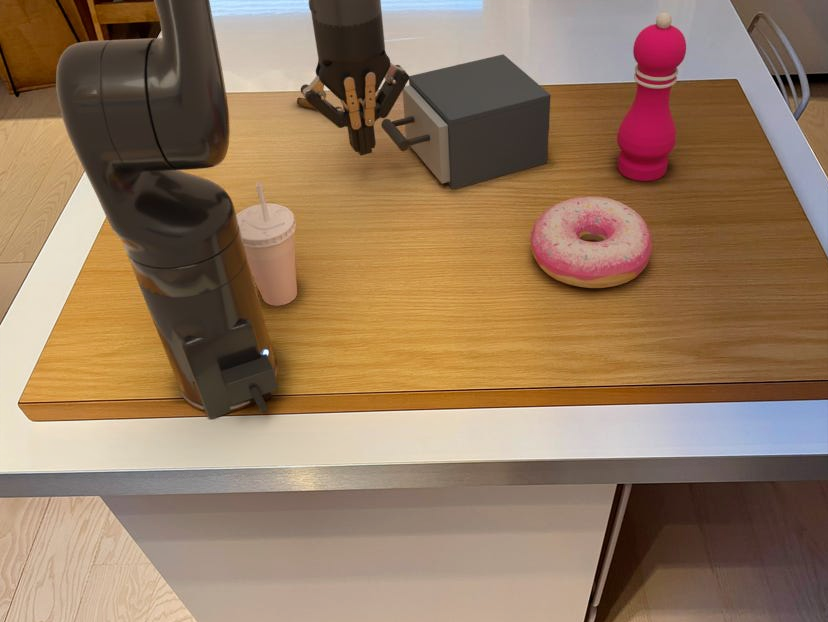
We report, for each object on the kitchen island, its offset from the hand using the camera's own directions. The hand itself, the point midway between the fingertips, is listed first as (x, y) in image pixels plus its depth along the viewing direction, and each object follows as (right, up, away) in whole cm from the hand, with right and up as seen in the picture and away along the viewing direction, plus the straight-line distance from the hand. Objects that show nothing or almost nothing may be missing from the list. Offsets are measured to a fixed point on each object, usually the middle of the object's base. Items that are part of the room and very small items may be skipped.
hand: (363, 151), depth 100 cm
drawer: (+11, +1, +7) cm, 13 cm away
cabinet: (+14, +2, +9) cm, 17 cm away
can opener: (-8, +10, +17) cm, 21 cm away
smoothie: (-8, -19, -11) cm, 23 cm away
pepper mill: (+35, -1, +6) cm, 36 cm away
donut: (+26, -14, -8) cm, 31 cm away
